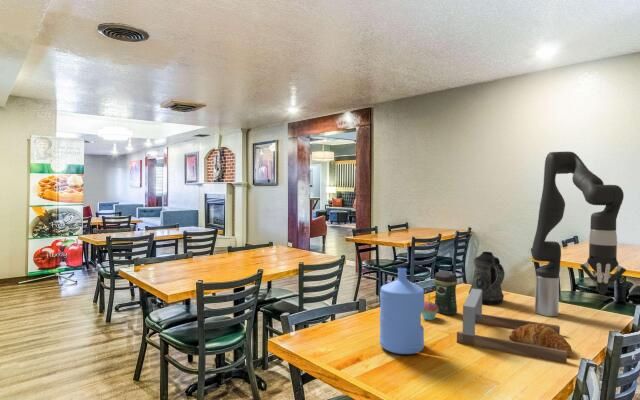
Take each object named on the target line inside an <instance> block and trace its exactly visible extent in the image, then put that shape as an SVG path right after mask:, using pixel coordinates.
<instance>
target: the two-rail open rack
mask: <svg viewBox="0 0 640 400" xmlns="http://www.w3.org/2000/svg"><path fill="white" fill-rule="evenodd" d="M476 323H477V324H483V325H490V326H496V327H503V328H508V329H513V330H515V329H518V328H519V327H520V326H525V325H527V324H529V323H530V324H538V323H539V322H536V321H532V320H531V321H530V320H524V319H523V320H522V319H517V318H509V317H502V316H497V315H489V314H483V304H482V290H480V289H472V290H471V292H470V294H469V293H468V296H467V297H466V299H465V302H464V304H462V332H460V331H457V333H456V343H458V344H463V345H469V346H473V347H479V348H485V349H489V350H494V351H500V352H505V353H510V354H516V355H517V354H518V355H521V356H527V357H531V358H537V359H543V360H548V361H554V362H558V363H564V364H567V363H568V357H567V351H565V350H559V349H553V348H548V347H542V346H536V345H530V344H525V343H520V342H518V341H514V340H512V341H511V340H508V339H507V340H506V339H502V338H501V339H500V338H495V337H490V336H483V335H478V334H476ZM541 323H542V324H546V325H547V326H549V327H550V328H552V329H554V330H555V331H556V332H557V333H558V334H559V335H560V336H561V331H560V330H561V327H560V325H556V324H550V323H543V322H541Z"/></svg>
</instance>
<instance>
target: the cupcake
mask: <svg viewBox="0 0 640 400" xmlns="http://www.w3.org/2000/svg"><path fill="white" fill-rule="evenodd" d="M430 297H431V296H430V293H428V294H427V301H424V310H423V311H422V312H421V316H422V319H424V320H427V321H433V320H435V318H436V315H437V313H438V311H439V309H438V306H437V305H436V304H435V302H431V301H430Z"/></svg>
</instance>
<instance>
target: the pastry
mask: <svg viewBox="0 0 640 400" xmlns="http://www.w3.org/2000/svg"><path fill="white" fill-rule="evenodd" d="M542 323H543V322H538V324H530V323H529V324H527V325H525V326H520V327H519V328H518V329H513V330H511V332H510V336H509V337H508V338H509V339H510V340H512V341H513V342H519V343H525V344H530V345H536V346H542V347H548V348H553V349H559V350H565V351H567V358H568V357H571V356H573V349H572V347H571V344H569V342H568V341H567V340H566V338H564V337H563V336H562V335H561V334H560V335H559V334H558V333H557V332H556V331H555V330H554V329H552V328H550V327H549V326H547V325H546V324H547V323H545V324H542Z"/></svg>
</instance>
